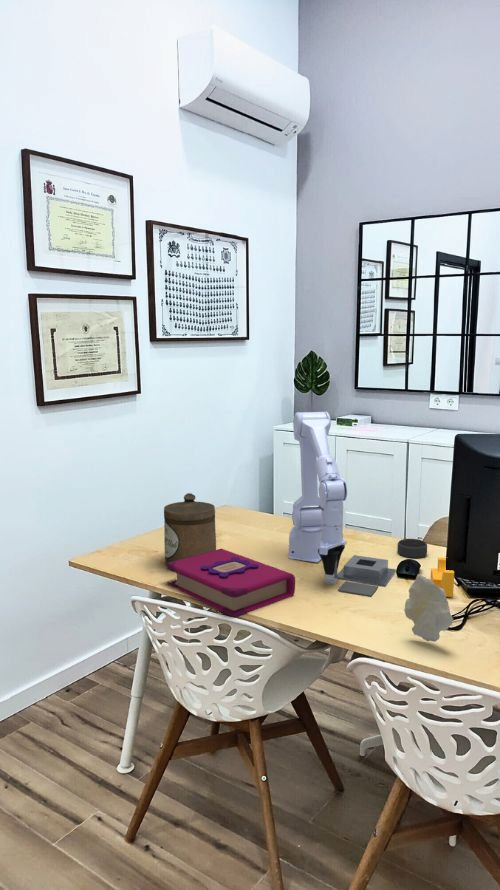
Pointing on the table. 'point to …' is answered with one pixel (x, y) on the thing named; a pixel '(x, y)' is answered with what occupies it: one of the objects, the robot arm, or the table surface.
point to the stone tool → (427, 609)
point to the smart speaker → (412, 548)
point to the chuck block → (367, 571)
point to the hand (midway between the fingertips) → (331, 572)
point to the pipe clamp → (443, 577)
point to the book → (231, 581)
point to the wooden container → (188, 529)
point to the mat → (358, 589)
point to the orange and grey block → (332, 576)
